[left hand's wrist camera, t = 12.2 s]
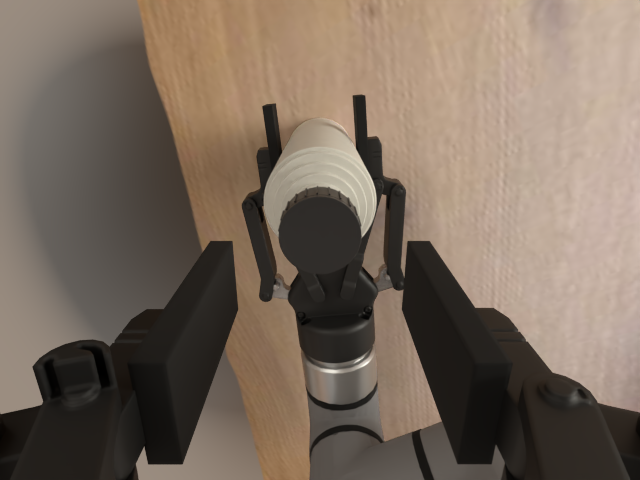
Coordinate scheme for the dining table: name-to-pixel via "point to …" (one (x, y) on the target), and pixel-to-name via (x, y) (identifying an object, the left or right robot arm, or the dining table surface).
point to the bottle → (320, 171)
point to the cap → (320, 230)
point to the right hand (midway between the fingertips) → (313, 100)
